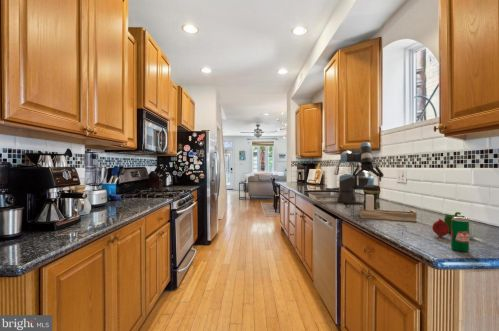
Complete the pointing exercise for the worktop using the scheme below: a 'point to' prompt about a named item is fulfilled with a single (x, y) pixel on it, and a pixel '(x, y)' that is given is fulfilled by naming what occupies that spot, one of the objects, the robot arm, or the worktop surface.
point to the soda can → (460, 234)
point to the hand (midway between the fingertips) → (368, 184)
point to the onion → (440, 228)
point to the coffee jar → (372, 191)
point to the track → (389, 214)
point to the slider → (369, 202)
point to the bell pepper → (448, 219)
